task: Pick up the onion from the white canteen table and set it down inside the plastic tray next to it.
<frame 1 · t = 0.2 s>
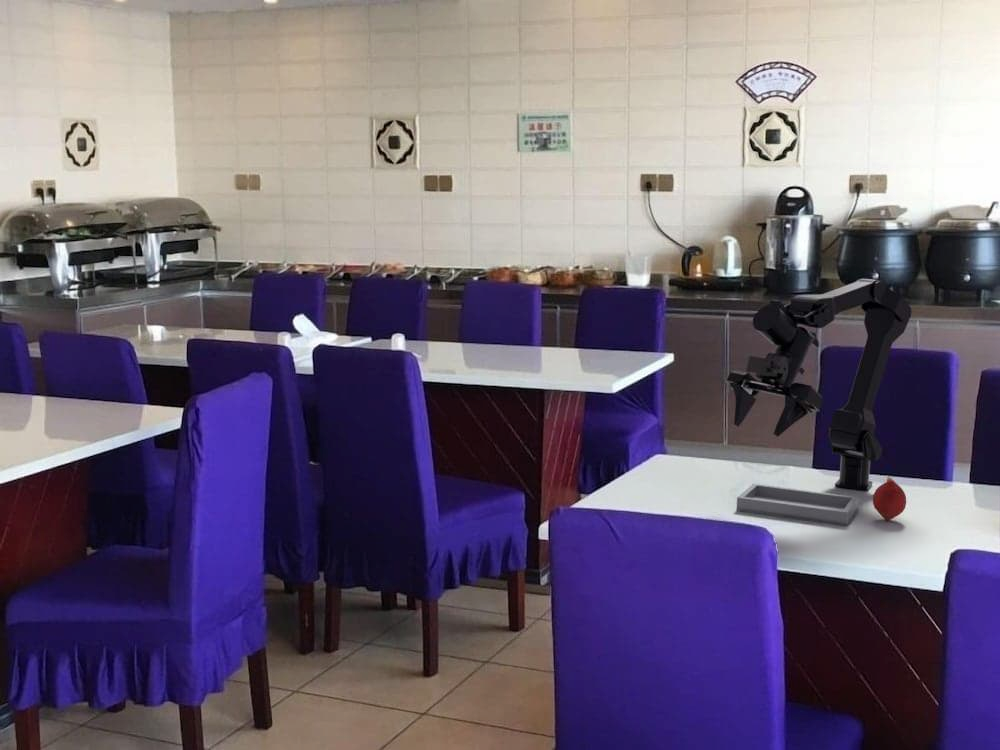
hand: (755, 430, 224), 15 cm above the table, tool tilted 30°, fingers open, 9 cm apart
tray: (797, 510, 225), on the table
onion: (887, 521, 220), on the table
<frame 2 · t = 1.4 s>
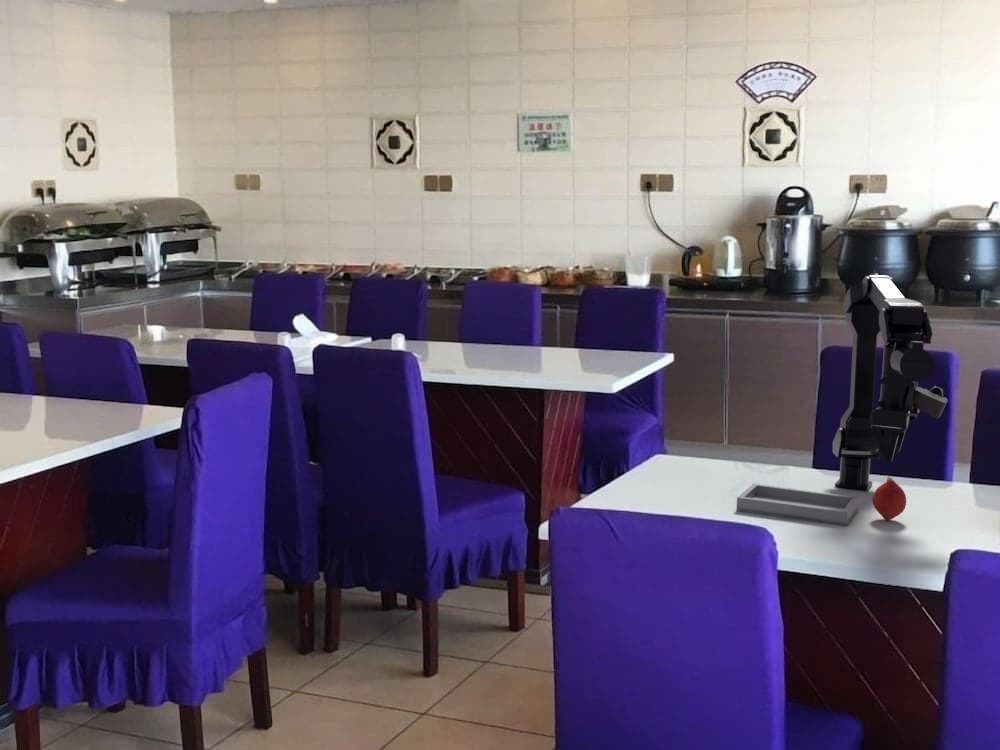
hand: (892, 457, 219), 12 cm above the table, tool pointing down, fingers open, 9 cm apart
nothing on the table moved.
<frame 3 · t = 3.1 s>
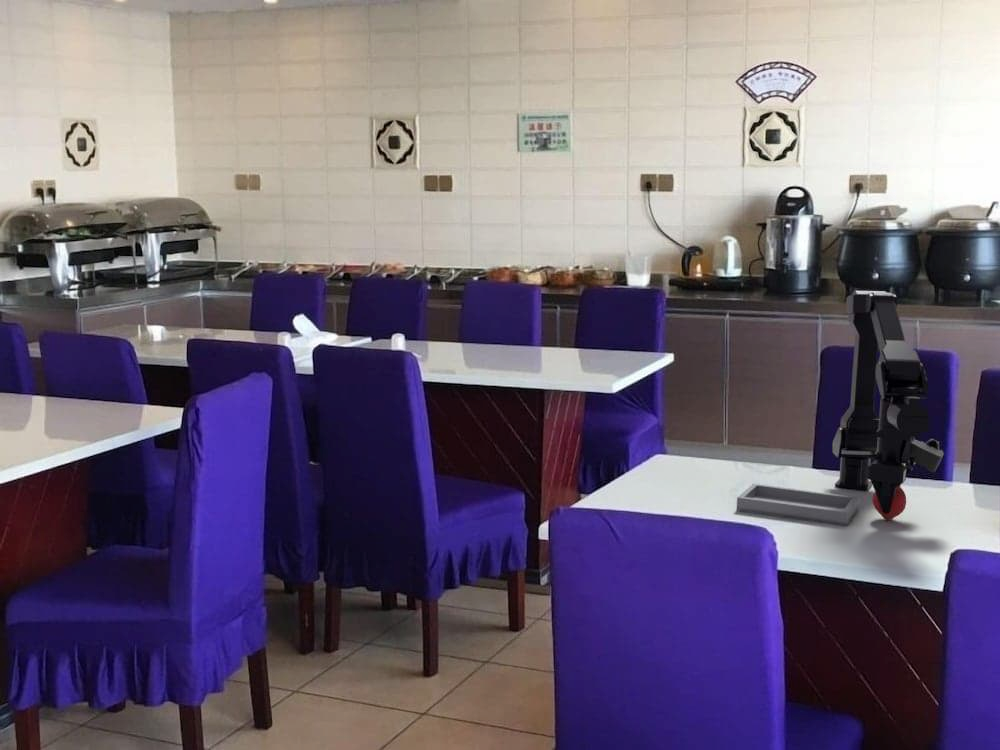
hand: (888, 509, 220), 2 cm above the table, tool pointing down, fingers closed on onion, 6 cm apart
onion: (887, 521, 220), on the table, touching gripper
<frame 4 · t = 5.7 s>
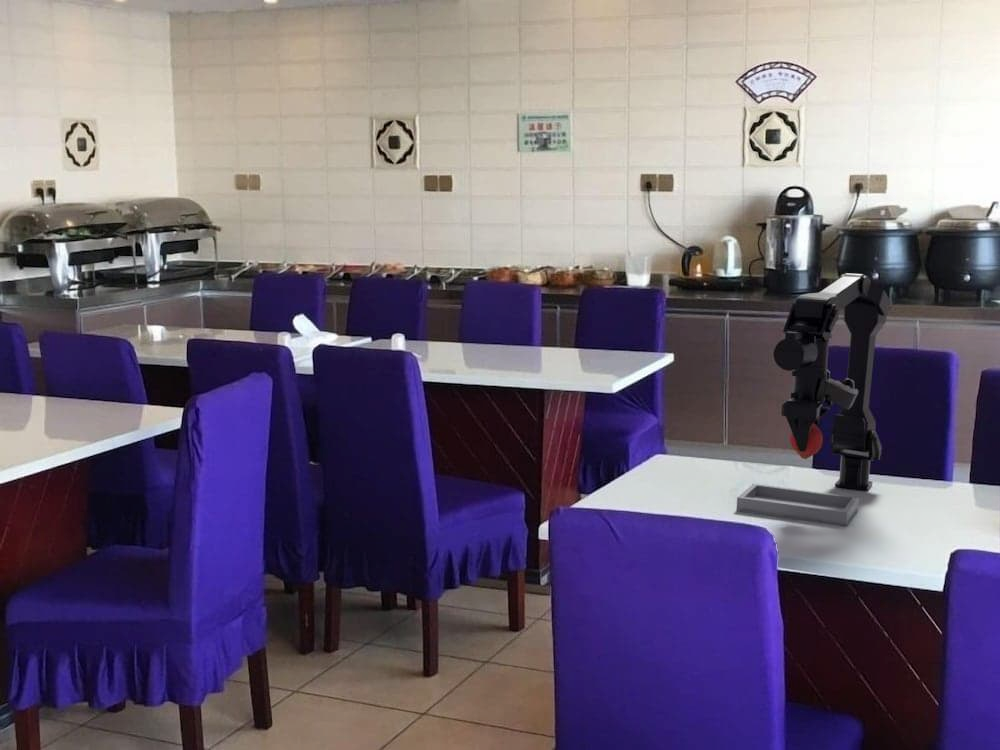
hand: (805, 448, 223), 12 cm above the table, tool pointing down, fingers closed on onion, 6 cm apart
onion: (805, 459, 224), point 10 cm above the table, touching gripper
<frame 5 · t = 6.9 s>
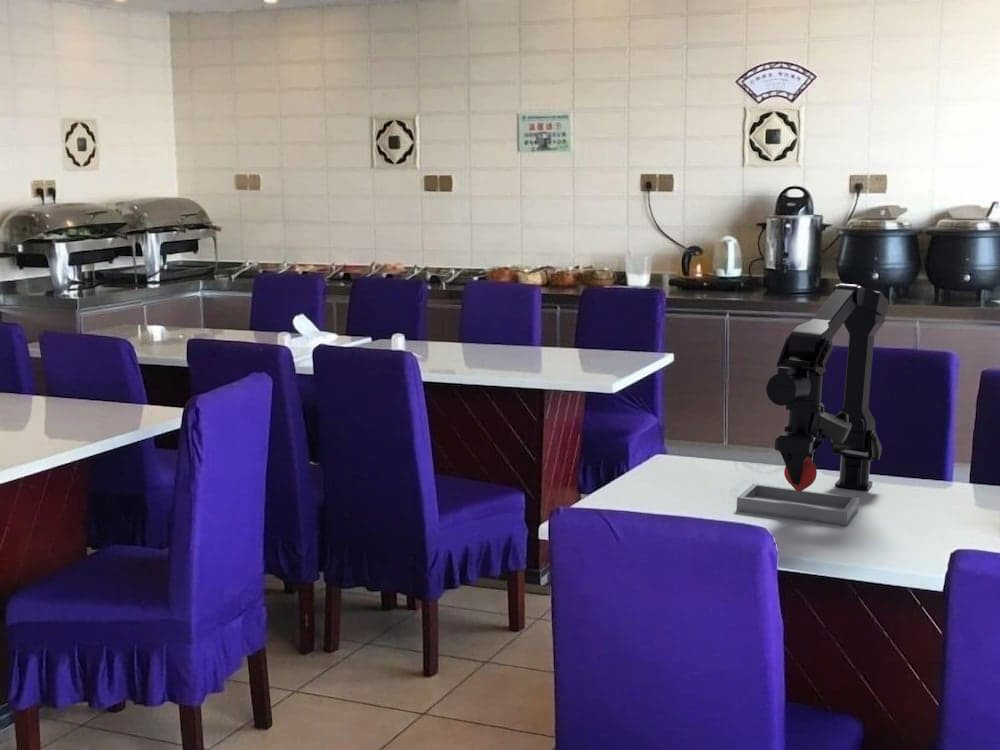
hand: (799, 480, 225), 6 cm above the table, tool pointing down, fingers closed on onion, 6 cm apart
onion: (799, 492, 225), point 3 cm above the table, touching gripper
when the fingers open (4 cm above the table, at t = 8.1 s): onion drops 1 cm, resting on tray.
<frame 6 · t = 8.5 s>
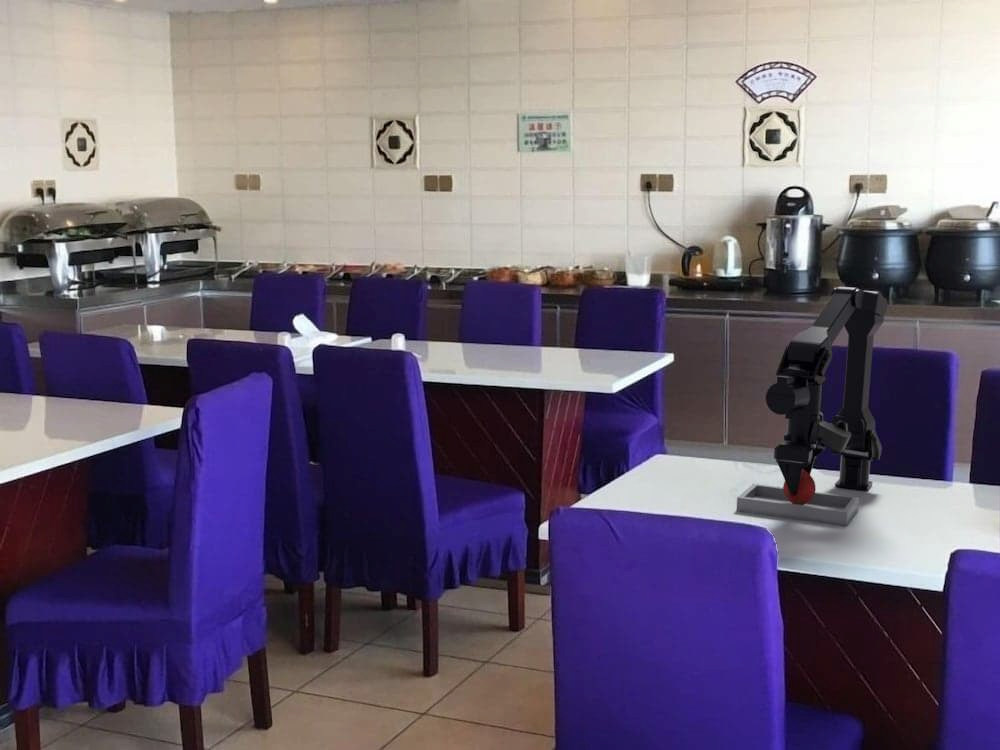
hand: (798, 489, 225), 4 cm above the table, tool pointing down, fingers open, 9 cm apart
onion: (797, 508, 225), resting on tray
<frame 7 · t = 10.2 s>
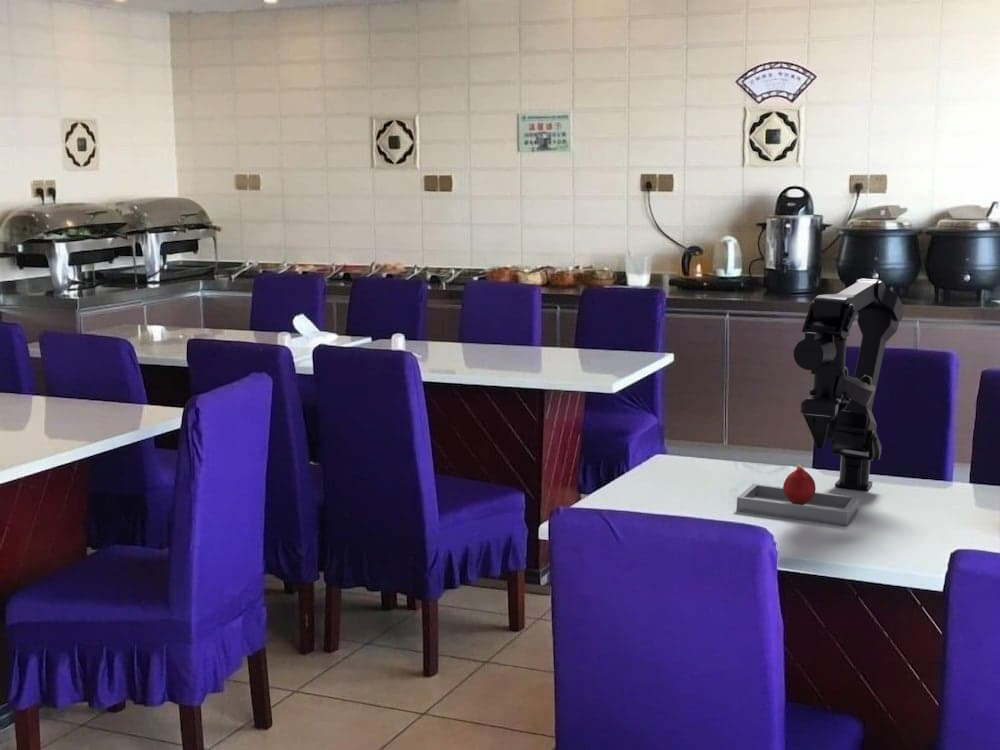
hand: (824, 443, 230), 12 cm above the table, tool pointing down, fingers open, 9 cm apart
nothing on the table moved.
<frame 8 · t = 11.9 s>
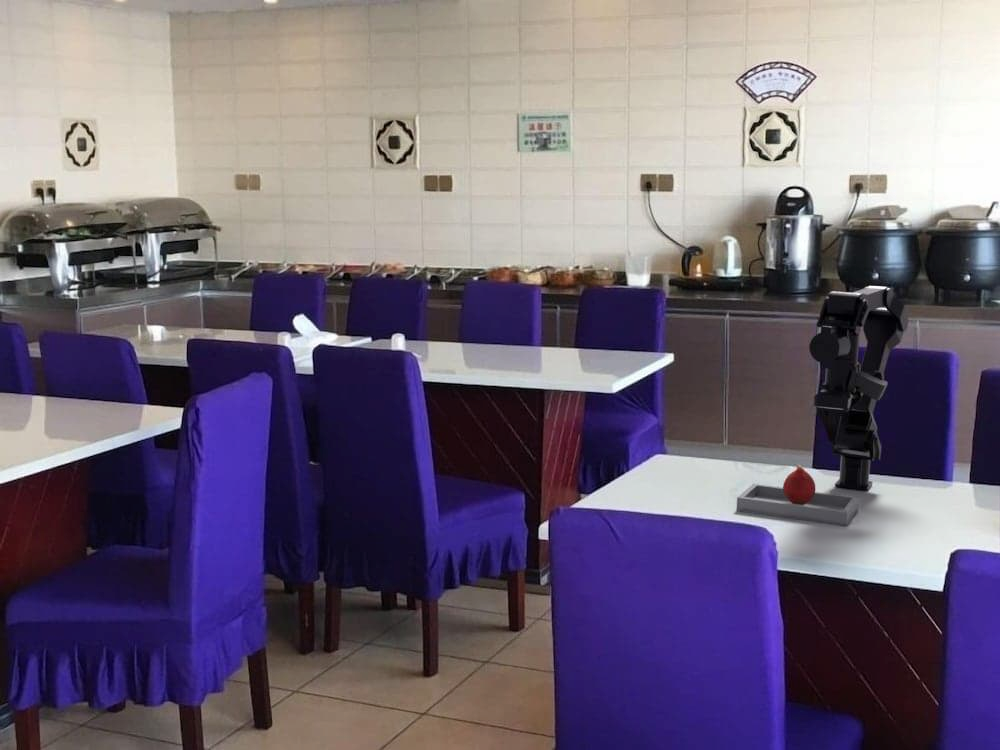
hand: (836, 437, 233), 12 cm above the table, tool pointing down, fingers open, 9 cm apart
nothing on the table moved.
at the end: onion inside the target area on the tray (0.1 cm from its centre), point 0.4 cm above the tray's base; the gripper is holding nothing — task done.
